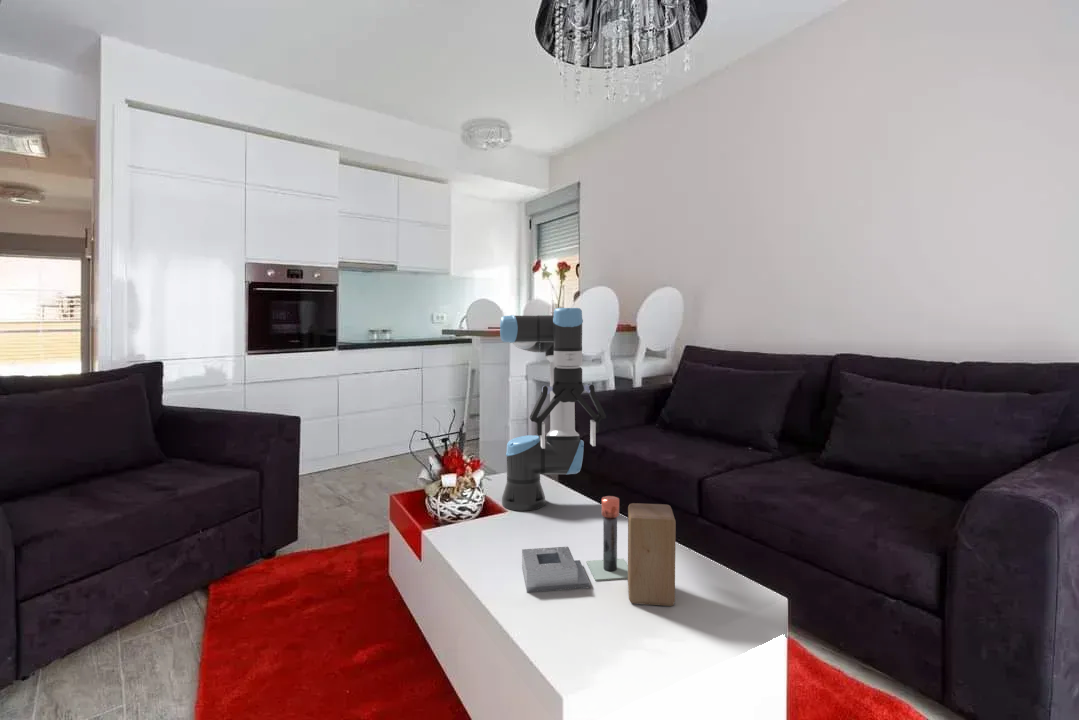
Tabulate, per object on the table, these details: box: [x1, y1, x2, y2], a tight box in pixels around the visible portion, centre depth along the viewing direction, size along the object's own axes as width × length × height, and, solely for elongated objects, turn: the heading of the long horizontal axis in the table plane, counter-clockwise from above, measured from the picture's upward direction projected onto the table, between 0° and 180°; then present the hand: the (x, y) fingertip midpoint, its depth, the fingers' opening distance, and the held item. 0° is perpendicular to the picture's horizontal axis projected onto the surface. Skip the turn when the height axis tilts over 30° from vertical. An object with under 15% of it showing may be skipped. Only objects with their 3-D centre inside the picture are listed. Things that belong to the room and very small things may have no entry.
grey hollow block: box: [521, 546, 591, 593], centre depth 126 cm, size 12×15×5 cm
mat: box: [586, 558, 628, 582], centre depth 130 cm, size 10×10×1 cm
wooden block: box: [627, 502, 677, 607], centre depth 117 cm, size 10×10×20 cm
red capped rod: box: [600, 495, 620, 572], centre depth 130 cm, size 4×4×18 cm
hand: (568, 446), depth 137 cm, fingers open, 13 cm apart
